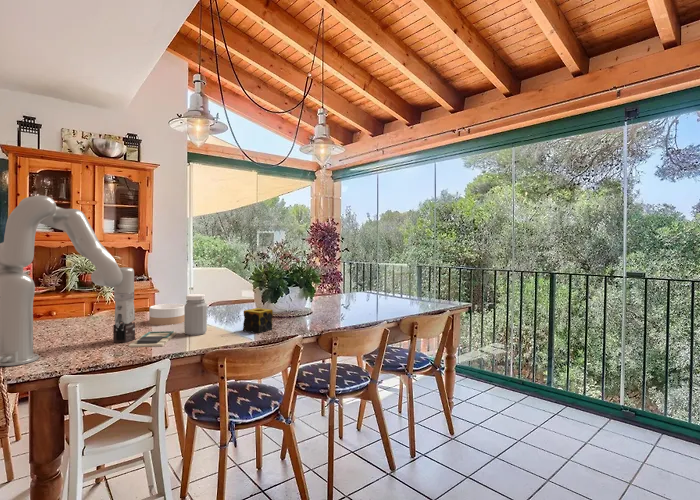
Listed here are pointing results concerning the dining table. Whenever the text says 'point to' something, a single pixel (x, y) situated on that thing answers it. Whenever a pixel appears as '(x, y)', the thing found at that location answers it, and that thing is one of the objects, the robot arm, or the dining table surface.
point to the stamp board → (153, 339)
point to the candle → (257, 320)
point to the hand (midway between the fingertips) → (124, 337)
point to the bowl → (166, 314)
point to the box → (128, 333)
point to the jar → (195, 314)
